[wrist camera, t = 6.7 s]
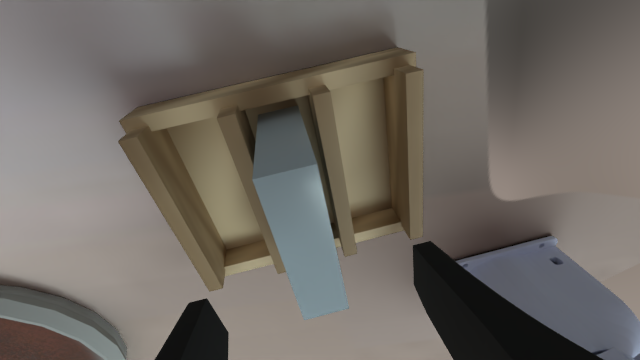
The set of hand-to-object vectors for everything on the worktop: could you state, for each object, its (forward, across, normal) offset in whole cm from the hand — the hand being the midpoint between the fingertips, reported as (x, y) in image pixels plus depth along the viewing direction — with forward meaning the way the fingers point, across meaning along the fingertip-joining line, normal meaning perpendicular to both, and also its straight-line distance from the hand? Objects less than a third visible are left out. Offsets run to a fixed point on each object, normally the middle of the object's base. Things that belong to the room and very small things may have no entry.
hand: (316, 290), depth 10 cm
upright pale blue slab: (+9, 0, 0) cm, 9 cm away
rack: (+9, 0, 0) cm, 9 cm away
